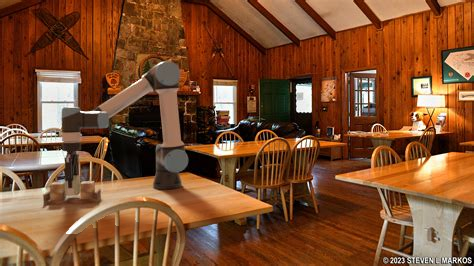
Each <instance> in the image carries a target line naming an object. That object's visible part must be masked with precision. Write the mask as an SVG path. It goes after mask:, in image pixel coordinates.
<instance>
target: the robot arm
mask: <svg viewBox="0 0 474 266" xmlns="http://www.w3.org/2000/svg"><path fill="white" fill-rule="evenodd" d="M181 73H182V72H181V69H180V67H179V66H178V65H177V64H176V63H174V62H172V61H170V60H165V61H160V62H159V63H158V64H155V65H154V66H153V67H152V68H151V69H149V70H148V71H147V72H146V73H144V74H143V75H142V76H141V78H140V79H139V80H138V81H136V82H134V83H133V84H130V86H128V87H126V88H125V89H123V90H122V91H120V92H119V93H117V94H116V95H114V96H112V97H111V98H110V99H108V100H106V101H105V102H103V103H102V104H100V105H98V106H97V107H95V108H94V109H92V110H90V111H81V107H79V106H77V107H76V106H64V107H63V108H61V119H60V120H61V141H62V144H61V147H62V151H63V152H66V156H65V157H64V174H65V175H64V182H65V181H67V195H73V196H75V195H74V180H73V176H74V175H80V170H79V169H80V168H79V167H80V166H79V165H80V163H79V160H80V159H79V156H80V155H79V153H77V152H79V151H81V150H82V144H81V140H82V139H81V137H82V136H83V134H82V133H81V129H106V128H108V127H109V125H110V118H111V117H113V116H115V115H116V114H118V113H119V112H122V111H123V109H126V108H127V107H128V106H130V105H131V104H133V103H135V102H136V101H137V100H140V99H141V98H143V96H145V95H147V94H148V93H153V92H156V93H158V98H159V109H160V118H161V129H162V132H161V133H162V140H163V141H162V143H160V144H156V147H155V176H154V179H153V182H152V187H153V189H156V190H175V189H179V188H182V182H183V181H182V179H181V176H180V172H182V171H183V170H185V169H186V168H187V166H188V164H189V157H188V153H187V152H186V149H185V143H184V141H182V137H181V127H180V126H181V124H180V117H179V106H178V95H177V92H178V91H179V90H180V82H179V81H180V79H181V76H182V75H181Z"/></svg>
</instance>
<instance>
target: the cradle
mask: <svg viewBox="0 0 474 266" xmlns="http://www.w3.org/2000/svg"><path fill="white" fill-rule="evenodd" d="M95 185H96V184H95V180H86V181H82V182H80V193H79V194H80V195H73V196H65V181H53V182H52V183H50V184H49V190H48V191H46V192H45V193H44V194H43V195H42V197H43V206H45V205H46V206H48V205H49V206H50V205H52V206H53V205H76V204H98V203H99V201H100V200H101V198H102V195H101V194H102V192H101V191H102V189H101V188H97V189H96V186H95Z"/></svg>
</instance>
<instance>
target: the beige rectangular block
mask: <svg viewBox="0 0 474 266" xmlns="http://www.w3.org/2000/svg"><path fill="white" fill-rule="evenodd" d="M73 180H74V195H67V181H65V180H64V182H65V196H79V194H80V183H81V175H80V174H79V175H74V176H73Z"/></svg>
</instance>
